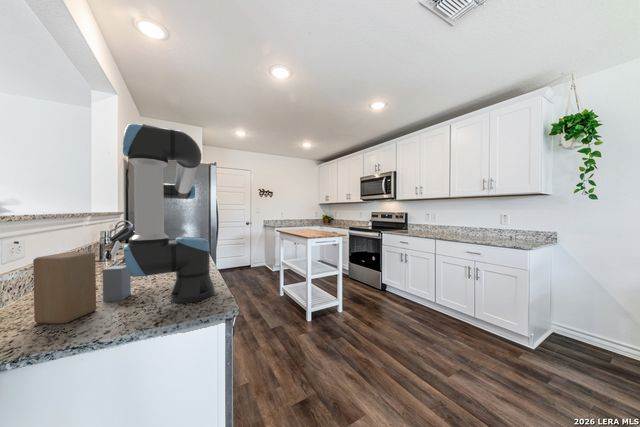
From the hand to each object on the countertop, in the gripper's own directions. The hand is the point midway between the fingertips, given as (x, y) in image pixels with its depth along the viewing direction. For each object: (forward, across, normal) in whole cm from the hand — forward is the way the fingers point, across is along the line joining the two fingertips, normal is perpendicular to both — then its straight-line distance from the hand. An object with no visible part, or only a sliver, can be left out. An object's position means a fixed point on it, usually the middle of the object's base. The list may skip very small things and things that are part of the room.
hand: (131, 254), depth 100 cm
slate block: (+18, 0, -3) cm, 18 cm away
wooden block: (+29, +6, +7) cm, 30 cm away
